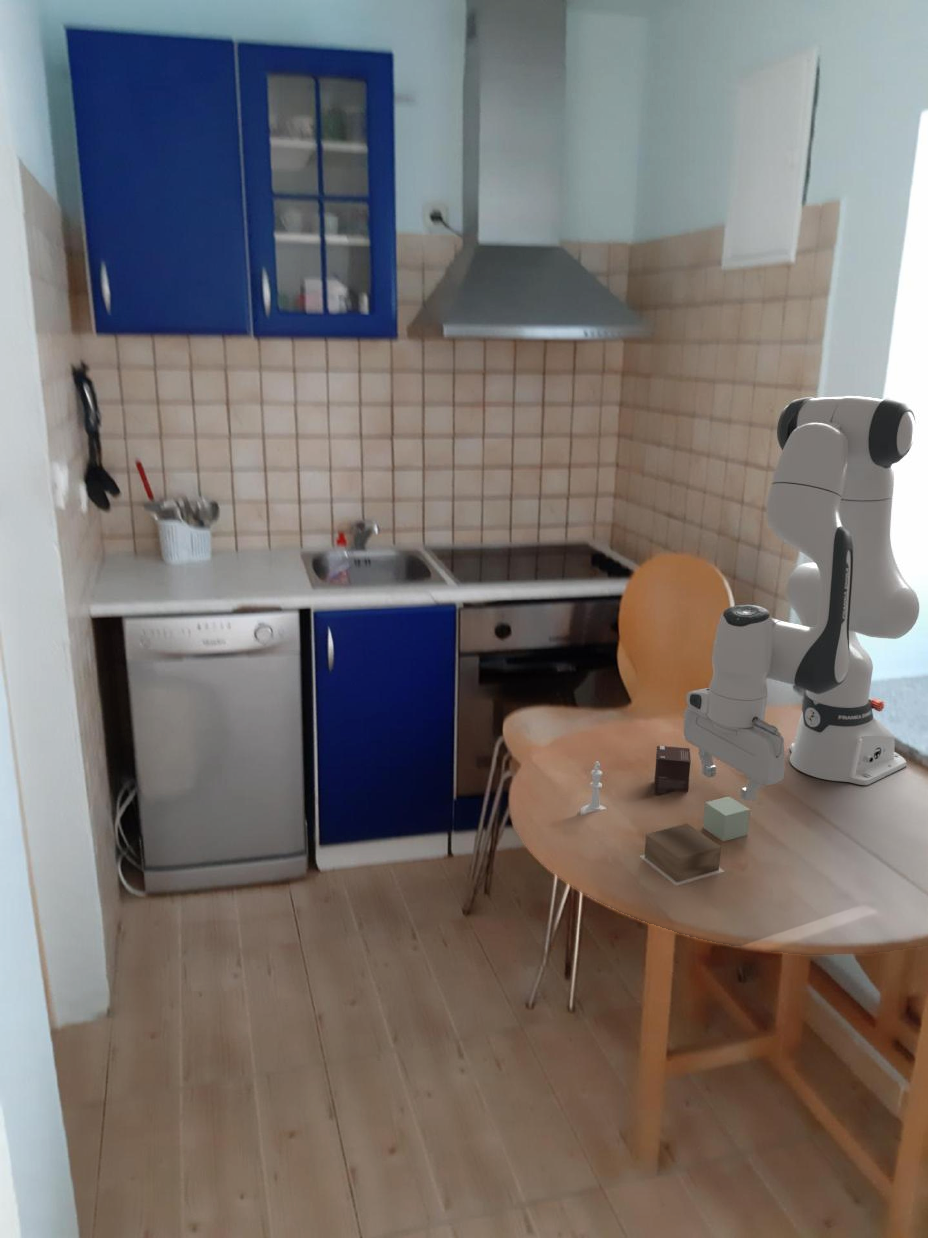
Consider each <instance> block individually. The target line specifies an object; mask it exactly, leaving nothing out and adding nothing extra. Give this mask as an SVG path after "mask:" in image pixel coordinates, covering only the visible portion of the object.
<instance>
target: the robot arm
mask: <svg viewBox="0 0 928 1238" xmlns="http://www.w3.org/2000/svg"><path fill="white" fill-rule="evenodd" d="M915 433H916V416H915V414H914V411H913V410H912V409H911V408H910V406H909V404H907V403H906V402H903V401H901V400H896V399H893V398H892V399H891V398H889V397H888V398H884V399H880V398H873V397H868V396H867V397H866V396H853V395H846V396H832V397H831V396H829V397H828V396H827V397H816V398H815V397H813V396H808V397H807V396H806V397H802V398H797V399H794V400H792V401H790V402H789V404H788V405H786V406H785V408H783V410H782V412H781V413H780V415H779V419H778V422H777V429H776V437H777V442H778V444H779V447H780V449H781V453H780V456H779V459H778V462H777V464H776V467H775V470H774V474H773V477H772V481H771V484H770V488H769V492H768V497H767V501H766V505H765V506H766V507H765V508H766V510H765V516H766V519H767V523H768V525H769V527H770V529H771V530H772V532H773V534H775V535H776V536H777V537H778V538H779V539H780V540H782V542H784V543H786V544H787V545H789V546H790V547H792V548H794V549H795V550H797V551H799V552H800V553H802V554H804V555H806V556H807V557H808V558H809V559H811V560H812V561H813V562H804V563H801V564H800V565H798V566H797V567H796V568H795V569H794V570H793V571H792V572H791V574H790V575H789V577H788V579H787V580H786V581H787V582H786V584H785V585H786V586H785V598H786V600H787V602H788V605H789V606H790V607H791V609H792V610H793V611H794V612H795V614H796V615H797V617H798V619H799V621H800V623H801V624H797V623H793V622H787V621H784V620H781V619H776V618H774V617H772V615H771V613H770V611H769V610H768V609H766V608H764V607H763V606H759V605H754V604H739V605H738V604H737V605H733V606H730V607H728V608H726V609H725V610H724V611H722V613H721V615H720V619H719V621H718V624H717V627H716V632H715V638H714V643H713V649H712V657H711V658H712V659H711V664H712V670H713V671H712V672H713V674H712V678H711V681H710V682H709V687H706V688H705V687H704V688H700V689H695V690H691V691H688V692H687V693H686V703H687V704H688V705H686V708H685V711H684V716H683V731H682V732H683V736H684V739H685V741H686V742H687V743H689V744H691V745H692V746H694V747H696V748H698V755H699V759H700V762H701V765H702V766H701V768H702V769H701V774H702V775H704V776H705V777H707V778H709V779H710V778H714V777H715V776H716V774H717V766H716V765H715V764H714V760H713V758H715V759H717V760H718V761H720V762H722V763H723V764H726V765H727V766H729V767H731V768H732V769H734V770H735V771H738V772H739V773H741V774H742V775H744V776H746V777H747V778H746V779H747V780H746V782H747V783H748V786H747V787H743V788H742V787H741V792H740V793H741V794H740V797H741V799H743V800H744V801H746V802H748V803H749V802H753V801H755V800H756V797H757V791H759V789H760V788H761V786H771V785H775V784H779V783H780V782H781V781H782V780H784V777H785V769H786V768H785V767H786V765H785V764H786V762H785V761H786V757H785V755H786V750H785V743H784V742H785V741H784V739H785V738H784V737H783V736H782V734H781V732H780V731H779V728H777V727H776V726H775V725H773V724H770V723H768V722H767V721H765V717H766V716H765V715H766V706H767V698H768V687H767V679H769V680H771V681H772V680H773V681H776V682H780V683H784V684H788V685H793V686H795V687H796V688H800V689H802V690H805V691H804V692H803V693H804V694H803V698H802V701H801V702H802V705H801V712H802V713H801V714H800V716H799V721H798V725H797V729H796V732H795V737H794V738H795V739H794V742H792V743H790V747H789V749H790V751H791V754H790V756H789V758H788V760H789V762H790V764H791V765H792V766H793V768H794V769H796V770H798V771H800V772H802V773H803V774H805V775H808V776H810V777H814V778H817V779H822V780H826V781H833V782H846V783H852V784H855V785H861V786H869V785H871V784H873V783H875V782H877V781H879V780H881V779H884V777H887V776H888V775H892V774H893V773H895V772H897V771H899V770H901V769H904V768H905V767H906V766H907V761H906V759H905V758H904V757H903V756H902V755H901V754H899V753H898V752H895V744H896V742H895V737H894V734H893V733H892V732H891V731H890V730H889V728H887V727H885V726H884V725H883V724H882V723H880V721H879V720H878V719H876V718H875V717H874V713H873V710H875V711H877V712H882V711H883V709H885V703H884V701H882V700H878V699H877V698H872V699H870V690H871V684H872V677H873V670H874V666H873V660H872V659H871V656H870V655H869V653H868V651H866V650H865V648H864V647H863V646H862V645H861V643H860V642H859V639H858V637H857V634H860V635H863V636H866V637H870V638H877V639H891V640H894V639H895V640H896V639H897V640H898V639H900V638H902V637H904V636H905V635H906V634H908V633H909V632H910V631H911V630H912V629H913V628H914V626H915V625H916V622H918V621H917V620H918V618H919V615H920V614H919V613H920V603H919V602H920V601H919V598H918V595H917V593H916V591H915V590H914V589H913V588H912V587H911V586H910V585H909V584H908V582H906V579H905V578H904V577H903V575H902V573H901V571H900V569H899V568H898V564H897V563H896V559H895V556H894V552H893V547H892V542H891V525H892V524H891V521H892V509H893V508H892V506H893V497H894V496H893V495H894V481H895V477H894V475H895V471H894V469H895V467H894V466H895V465H894V464H897V463H899V462H900V461H902V459H903V458H904V457H905V456H906V455H907V454H908V453H909V452H910V449H911V448H912V445H913V442H914V440H915V439H914V438H915ZM856 633H857V634H856Z"/></svg>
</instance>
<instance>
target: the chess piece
mask: <svg viewBox="0 0 928 1238" xmlns="http://www.w3.org/2000/svg"><path fill="white" fill-rule="evenodd" d="M600 766H601V763H600V761H599V760H598V761H595V763H594V766H593V769H592V770H591V771H590V776H591V778H592V781H591V782H590V783H589V787H590V788H592V792H591V797H590V802H589V804H586V805H584V806H582V807H581V808H580V812H579V814H580V816H582V815H585V814H588V813H593V812H599V811H602V810H605V809H607V808H606V807H605V806H603V805H602V804H601V803H600V802H601V801H600V791H599V789H601V788H602V787H603V784H602V783H601V782H600V781H601V779H602V777H603V771H601V770H600V769H599V768H600Z"/></svg>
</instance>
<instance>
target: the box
mask: <svg viewBox="0 0 928 1238" xmlns="http://www.w3.org/2000/svg"><path fill="white" fill-rule="evenodd" d="M655 754H656V756H655V770H654V771H655V772H654V781H653V782H654V787H653V788H654V793H653V794H654V795H655V796H663V795H667V794H668V795H669V794H671V793H676V792H681V793H683V792H685V793H688V792H689V787H690V786H689V785H690V773H691V761H692V760H691V749H690V748H689V747H678V746H666V745H665V746H663V745H656V753H655Z"/></svg>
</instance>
